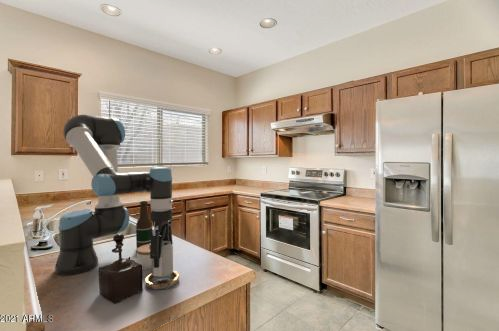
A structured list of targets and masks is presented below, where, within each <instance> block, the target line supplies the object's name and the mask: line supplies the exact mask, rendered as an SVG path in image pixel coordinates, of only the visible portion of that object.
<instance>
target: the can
mask: <svg viewBox="0 0 499 331" xmlns="http://www.w3.org/2000/svg"><path fill="white" fill-rule="evenodd" d="M160 257H162V276H154V269H153V259H152V268H151V274H152V275H153V276H154V277H155V278H166V277H168V276H170V275H171V274H172V273H173V271H174V245H173V244H172V245H171V242H170V241H162V248H161V255H160Z"/></svg>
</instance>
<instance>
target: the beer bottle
mask: <svg viewBox="0 0 499 331" xmlns="http://www.w3.org/2000/svg"><path fill="white" fill-rule="evenodd" d="M139 204H140V206H139V208H140V209H139V211H140V212H139V217H138V219H137V221H136V224H135V225H136V226H135V229H136V230H135V233H136V234H135V235H136V236H135V239H136V240H135V241H136V242H135V243H136V250H137V249H138V248H139V247H140V246H143V245H147V244H151V233H150V231H151V230H153V221H151V218H150V217H149V211H148V210H149V209H148V204H149V202H148V201H147V200H142V201H140V202H139Z"/></svg>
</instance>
